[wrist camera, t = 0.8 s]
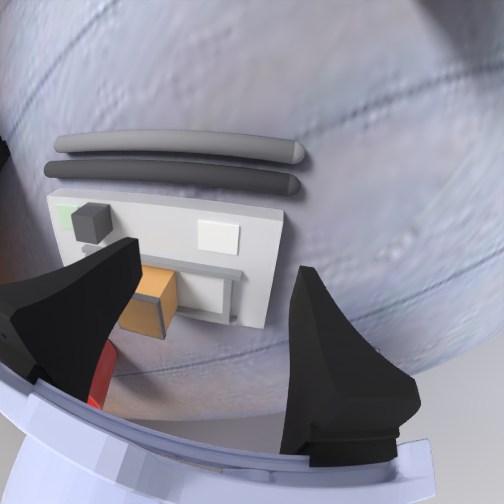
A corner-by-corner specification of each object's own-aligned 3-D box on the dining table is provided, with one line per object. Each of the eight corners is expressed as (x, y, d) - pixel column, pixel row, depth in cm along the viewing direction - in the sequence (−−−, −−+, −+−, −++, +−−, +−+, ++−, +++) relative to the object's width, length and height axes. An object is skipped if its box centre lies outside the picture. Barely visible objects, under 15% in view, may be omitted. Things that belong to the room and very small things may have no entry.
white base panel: (265, 313, 26) (260, 349, 23) (79, 275, 27) (59, 299, 24) (283, 210, 20) (282, 239, 17) (59, 188, 21) (29, 206, 18)
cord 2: (297, 193, 20) (298, 201, 18) (52, 174, 21) (42, 179, 19) (300, 173, 19) (302, 179, 17) (50, 159, 20) (39, 164, 18)
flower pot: (73, 344, 37) (48, 386, 29) (65, 305, 31) (30, 354, 23) (125, 372, 38) (104, 419, 30) (126, 339, 32) (97, 396, 24)
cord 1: (302, 162, 18) (304, 168, 17) (62, 150, 19) (51, 155, 18) (306, 141, 17) (307, 144, 16) (61, 134, 18) (49, 138, 17)
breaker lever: (179, 306, 24) (163, 340, 20) (139, 297, 24) (120, 328, 21) (176, 269, 22) (157, 303, 18) (131, 261, 22) (108, 291, 18)
